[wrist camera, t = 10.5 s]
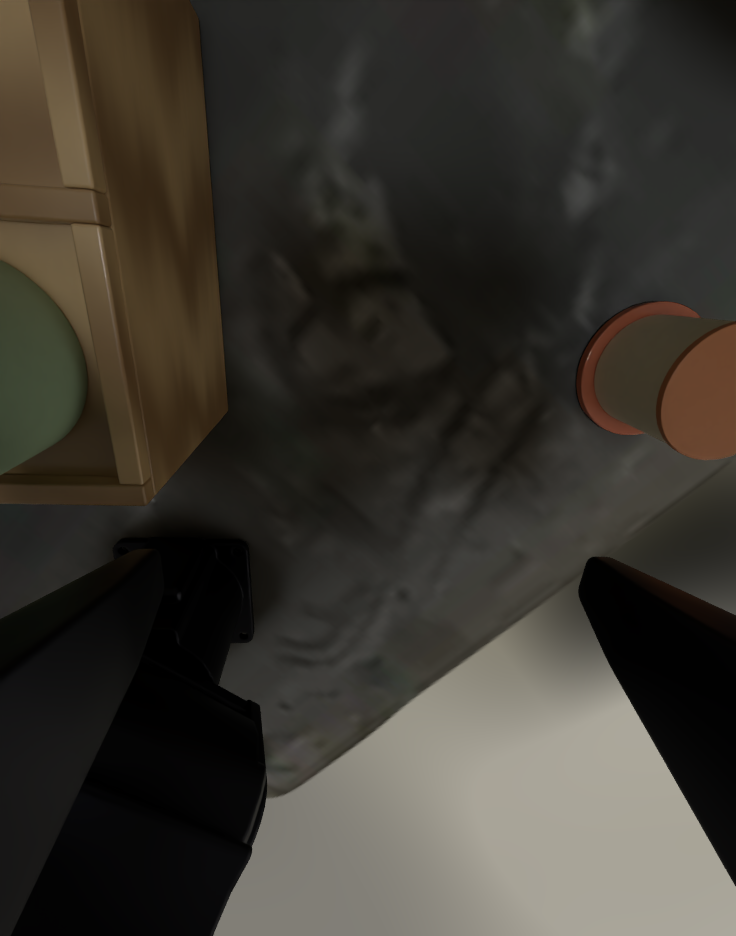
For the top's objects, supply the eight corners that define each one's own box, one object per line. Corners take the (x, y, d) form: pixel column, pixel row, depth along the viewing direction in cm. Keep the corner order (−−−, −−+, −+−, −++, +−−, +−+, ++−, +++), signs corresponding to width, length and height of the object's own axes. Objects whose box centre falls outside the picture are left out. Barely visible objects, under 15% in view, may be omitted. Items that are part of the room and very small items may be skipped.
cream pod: (679, 425, 21) (767, 462, 16) (579, 421, 20) (643, 458, 16) (717, 315, 19) (828, 324, 14) (608, 308, 18) (689, 316, 14)
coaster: (678, 433, 21) (686, 437, 21) (562, 430, 21) (567, 433, 20) (724, 304, 19) (733, 305, 19) (594, 297, 19) (600, 297, 18)
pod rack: (228, 411, 19) (146, 506, 11) (65, 405, 19) (-150, 502, 11) (198, 17, 14) (2, -359, 6) (-28, -7, 14) (-600, -459, 5)
